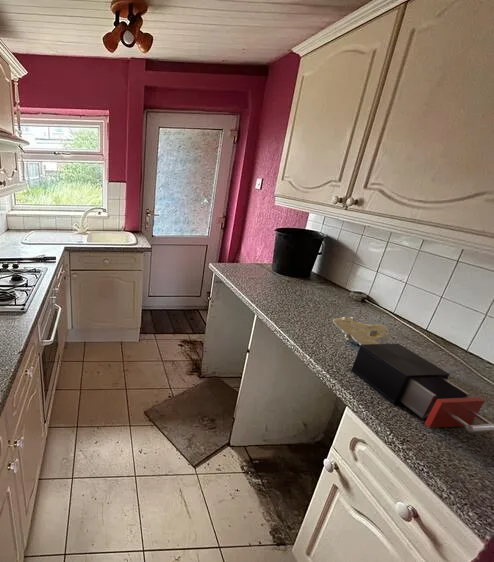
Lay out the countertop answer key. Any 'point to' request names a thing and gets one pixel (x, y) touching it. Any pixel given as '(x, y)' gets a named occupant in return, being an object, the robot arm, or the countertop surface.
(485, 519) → the countertop surface
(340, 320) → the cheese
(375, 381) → the black drawer housing
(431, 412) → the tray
